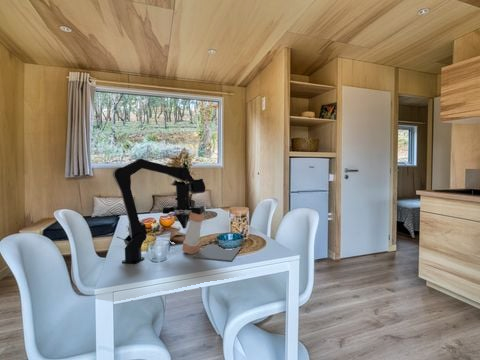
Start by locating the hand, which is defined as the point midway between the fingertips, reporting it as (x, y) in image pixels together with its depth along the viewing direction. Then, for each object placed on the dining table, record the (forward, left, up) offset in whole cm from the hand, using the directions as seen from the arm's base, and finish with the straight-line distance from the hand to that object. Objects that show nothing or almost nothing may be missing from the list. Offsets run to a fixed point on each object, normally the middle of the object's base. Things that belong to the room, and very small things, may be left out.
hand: (184, 228), depth 120 cm
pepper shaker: (0, -3, -10) cm, 10 cm away
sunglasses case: (+16, +12, -11) cm, 23 cm away
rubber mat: (+2, -16, -11) cm, 19 cm away
